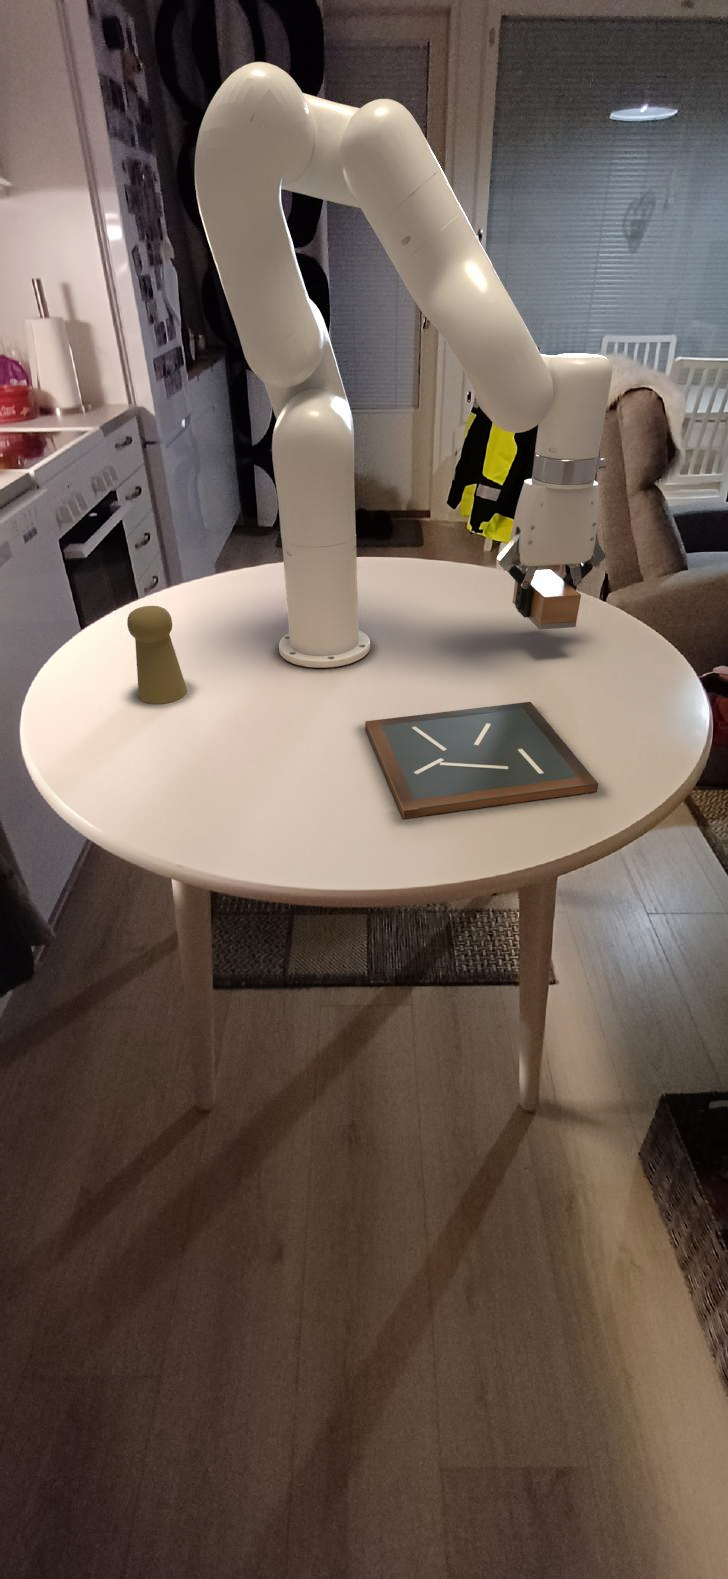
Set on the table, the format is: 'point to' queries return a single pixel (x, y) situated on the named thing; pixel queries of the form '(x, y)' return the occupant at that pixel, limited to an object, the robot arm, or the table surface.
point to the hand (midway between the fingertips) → (543, 611)
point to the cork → (155, 656)
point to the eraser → (552, 601)
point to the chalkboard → (475, 759)
